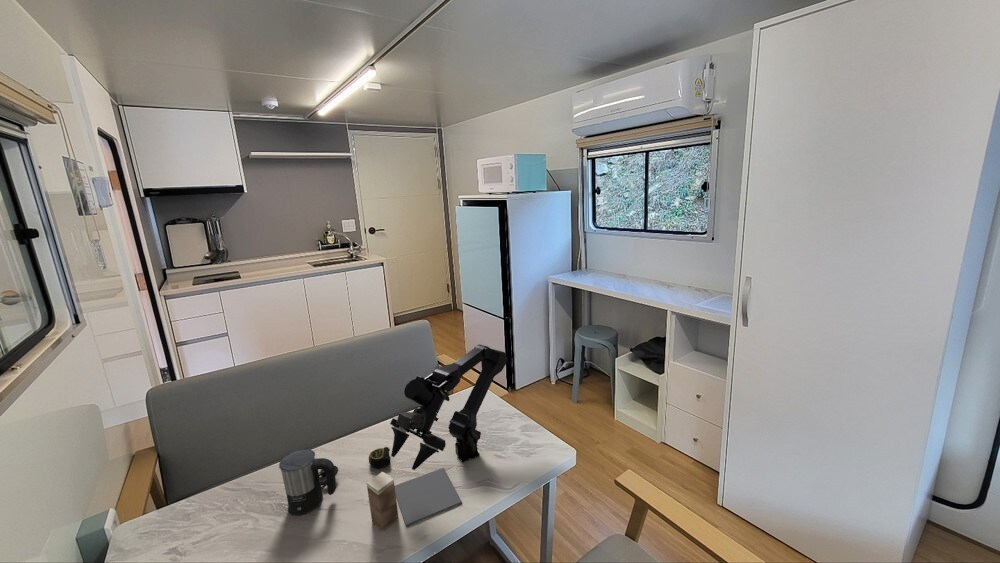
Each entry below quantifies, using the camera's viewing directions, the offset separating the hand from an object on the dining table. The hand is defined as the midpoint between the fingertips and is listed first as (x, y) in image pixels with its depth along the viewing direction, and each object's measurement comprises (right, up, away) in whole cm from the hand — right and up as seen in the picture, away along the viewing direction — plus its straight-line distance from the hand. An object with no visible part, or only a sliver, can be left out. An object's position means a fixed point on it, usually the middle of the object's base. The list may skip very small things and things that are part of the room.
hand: (402, 462), depth 107 cm
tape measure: (-12, -10, +21) cm, 26 cm away
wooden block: (-4, -14, -3) cm, 15 cm away
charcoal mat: (+6, -12, +5) cm, 14 cm away
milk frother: (-29, -13, +8) cm, 33 cm away
